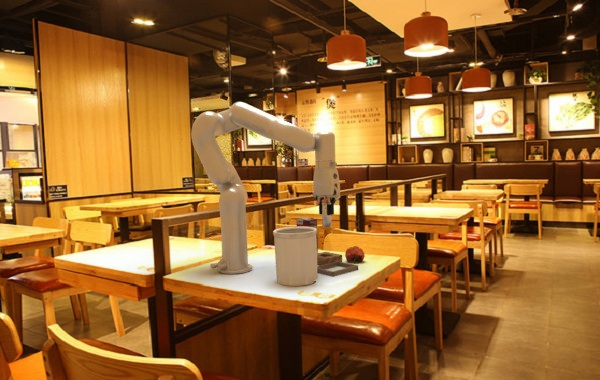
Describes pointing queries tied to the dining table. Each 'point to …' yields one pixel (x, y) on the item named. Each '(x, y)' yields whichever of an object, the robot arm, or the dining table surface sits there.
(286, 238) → the utensil holder
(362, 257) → the pomegranate
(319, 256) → the pin block
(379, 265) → the dining table surface
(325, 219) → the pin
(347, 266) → the tray
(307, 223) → the supplement box
